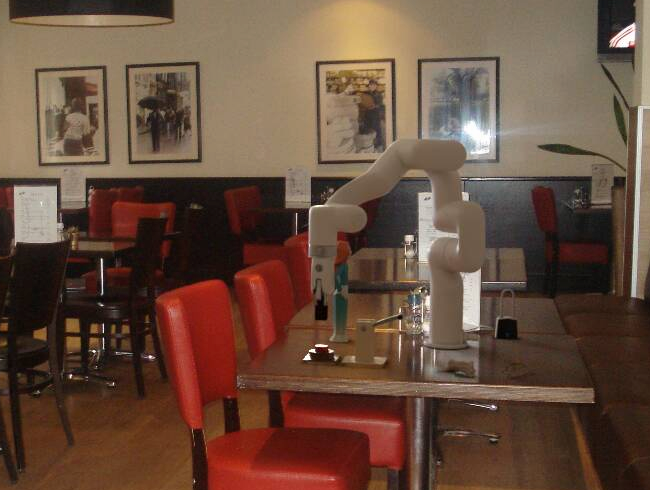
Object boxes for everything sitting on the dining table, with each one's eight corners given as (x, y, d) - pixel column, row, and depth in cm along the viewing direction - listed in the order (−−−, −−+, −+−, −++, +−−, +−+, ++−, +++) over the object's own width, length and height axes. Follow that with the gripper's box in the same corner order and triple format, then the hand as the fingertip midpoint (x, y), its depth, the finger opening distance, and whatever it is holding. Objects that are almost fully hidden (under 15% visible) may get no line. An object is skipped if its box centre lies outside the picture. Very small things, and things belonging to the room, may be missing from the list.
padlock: (517, 336, 318) (518, 288, 317) (518, 339, 314) (520, 289, 312) (494, 336, 319) (495, 287, 318) (495, 338, 315) (497, 289, 314)
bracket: (387, 362, 281) (387, 318, 279) (383, 368, 272) (383, 324, 271) (346, 359, 284) (347, 316, 283) (341, 366, 275) (341, 322, 274)
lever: (406, 317, 276) (403, 309, 276) (404, 320, 271) (401, 312, 271) (362, 331, 280) (359, 322, 280) (360, 334, 275) (357, 325, 275)
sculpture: (349, 344, 306) (350, 242, 303) (326, 343, 307) (327, 242, 304) (352, 336, 318) (353, 238, 315) (330, 336, 320) (331, 238, 317)
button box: (340, 359, 284) (340, 349, 283) (335, 365, 276) (336, 354, 276) (308, 358, 286) (308, 347, 286) (302, 363, 278) (302, 352, 278)
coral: (437, 370, 270) (438, 353, 269) (478, 374, 265) (478, 357, 264) (431, 374, 265) (431, 357, 264) (472, 378, 260) (472, 361, 259)
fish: (504, 380, 258) (505, 360, 258) (499, 379, 260) (499, 359, 259) (534, 374, 265) (535, 354, 265) (528, 373, 266) (529, 353, 266)
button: (329, 351, 282) (329, 344, 282) (327, 353, 279) (327, 347, 278) (316, 350, 283) (316, 344, 283) (313, 353, 280) (314, 346, 279)
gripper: (331, 254, 270) (330, 325, 272) (341, 250, 284) (339, 316, 286) (303, 253, 272) (301, 323, 274) (313, 249, 286) (312, 315, 288)
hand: (321, 319), depth 280 cm, fingers closed
